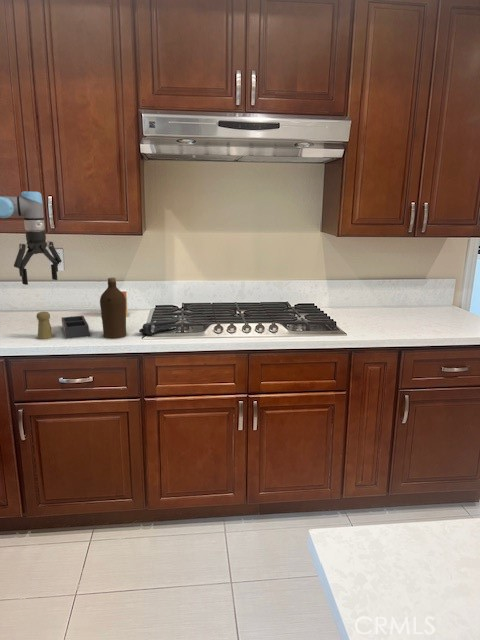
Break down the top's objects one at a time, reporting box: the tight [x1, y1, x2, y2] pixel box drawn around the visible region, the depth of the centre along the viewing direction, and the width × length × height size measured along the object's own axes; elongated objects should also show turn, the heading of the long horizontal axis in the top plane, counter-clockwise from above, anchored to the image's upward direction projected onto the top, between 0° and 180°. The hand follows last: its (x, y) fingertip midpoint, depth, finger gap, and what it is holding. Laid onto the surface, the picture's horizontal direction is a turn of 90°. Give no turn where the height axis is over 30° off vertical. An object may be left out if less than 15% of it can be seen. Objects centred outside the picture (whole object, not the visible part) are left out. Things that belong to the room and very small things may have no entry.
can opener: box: [138, 320, 177, 336], centre depth 204 cm, size 18×7×6 cm, turn 131°
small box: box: [118, 288, 128, 318], centre depth 230 cm, size 8×6×13 cm
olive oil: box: [99, 277, 127, 340], centre depth 196 cm, size 11×11×25 cm
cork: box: [36, 311, 54, 340], centre depth 194 cm, size 6×6×11 cm
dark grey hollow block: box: [61, 315, 90, 340], centre depth 203 cm, size 9×18×5 cm, turn 25°
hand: (40, 282), depth 195 cm, fingers open, 13 cm apart
